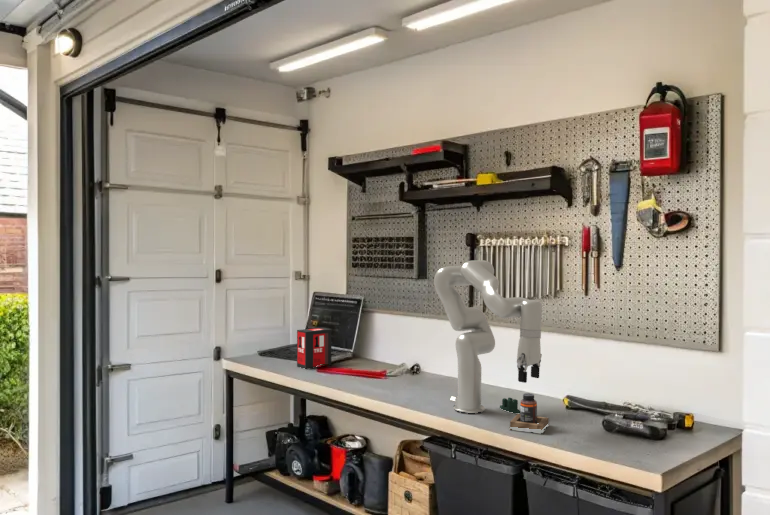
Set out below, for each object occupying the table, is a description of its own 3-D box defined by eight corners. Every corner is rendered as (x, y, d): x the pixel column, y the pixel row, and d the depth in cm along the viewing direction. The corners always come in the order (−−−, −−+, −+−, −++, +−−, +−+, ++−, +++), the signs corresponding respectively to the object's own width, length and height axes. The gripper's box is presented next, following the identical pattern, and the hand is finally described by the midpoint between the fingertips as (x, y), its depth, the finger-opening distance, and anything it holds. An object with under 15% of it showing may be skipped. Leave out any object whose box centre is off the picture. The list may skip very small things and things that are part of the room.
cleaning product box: (305, 369, 332) (306, 331, 331) (296, 366, 339) (297, 330, 338) (331, 365, 342) (331, 329, 342) (322, 363, 349) (322, 327, 349)
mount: (523, 413, 249) (523, 401, 249) (514, 415, 247) (515, 402, 247) (505, 407, 258) (505, 395, 258) (496, 408, 256) (496, 396, 256)
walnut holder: (509, 430, 227) (509, 421, 227) (517, 421, 237) (517, 413, 237) (542, 434, 221) (542, 426, 221) (549, 425, 232) (549, 417, 232)
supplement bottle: (534, 422, 233) (534, 392, 232) (538, 427, 227) (539, 396, 226) (518, 422, 233) (518, 392, 232) (522, 427, 227) (522, 396, 226)
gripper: (532, 329, 238) (530, 374, 238) (509, 335, 224) (508, 382, 225) (550, 332, 233) (548, 377, 234) (528, 337, 220) (526, 385, 220)
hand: (528, 379), depth 229 cm, fingers open, 9 cm apart
